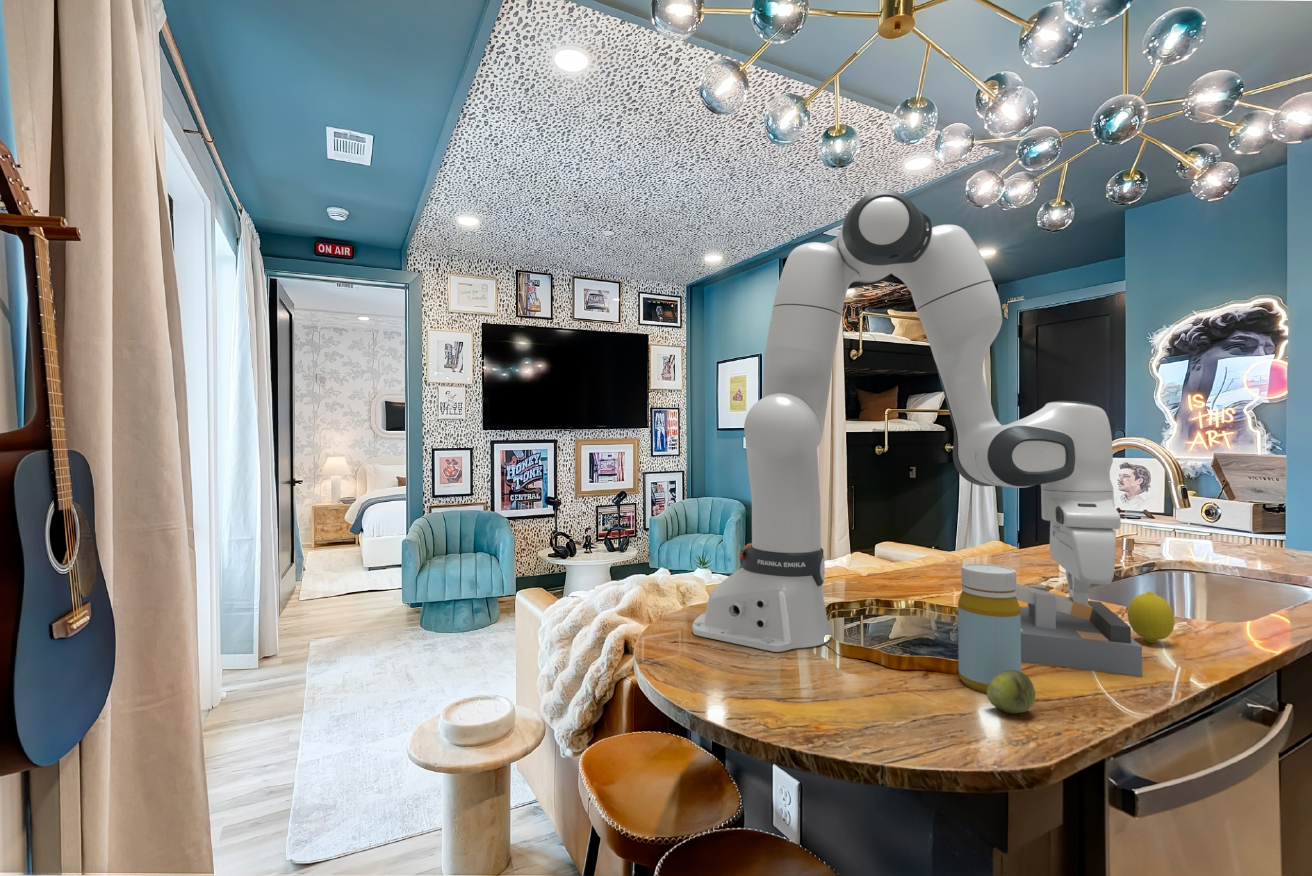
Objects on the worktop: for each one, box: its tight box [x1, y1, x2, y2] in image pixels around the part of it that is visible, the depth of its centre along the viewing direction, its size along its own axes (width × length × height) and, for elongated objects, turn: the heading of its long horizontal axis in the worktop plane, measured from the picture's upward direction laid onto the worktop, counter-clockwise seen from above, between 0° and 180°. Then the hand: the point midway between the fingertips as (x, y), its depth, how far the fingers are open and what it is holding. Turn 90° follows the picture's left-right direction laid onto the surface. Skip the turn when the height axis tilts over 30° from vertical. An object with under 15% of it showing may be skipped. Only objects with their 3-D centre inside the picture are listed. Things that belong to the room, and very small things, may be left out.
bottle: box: [957, 563, 1022, 694], centre depth 76 cm, size 7×7×15 cm
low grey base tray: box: [1020, 584, 1143, 677], centre depth 89 cm, size 20×16×9 cm
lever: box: [1016, 583, 1093, 620], centre depth 89 cm, size 12×4×2 cm, turn 66°
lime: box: [985, 670, 1036, 715], centre depth 68 cm, size 4×5×5 cm
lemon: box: [1127, 591, 1175, 644], centre depth 91 cm, size 6×6×8 cm
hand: (1078, 601), depth 87 cm, fingers closed, pressing on lever
